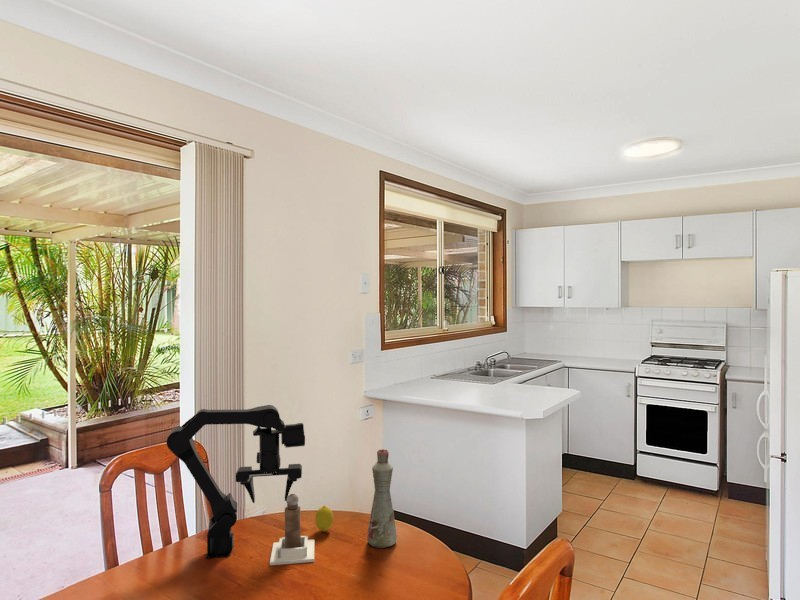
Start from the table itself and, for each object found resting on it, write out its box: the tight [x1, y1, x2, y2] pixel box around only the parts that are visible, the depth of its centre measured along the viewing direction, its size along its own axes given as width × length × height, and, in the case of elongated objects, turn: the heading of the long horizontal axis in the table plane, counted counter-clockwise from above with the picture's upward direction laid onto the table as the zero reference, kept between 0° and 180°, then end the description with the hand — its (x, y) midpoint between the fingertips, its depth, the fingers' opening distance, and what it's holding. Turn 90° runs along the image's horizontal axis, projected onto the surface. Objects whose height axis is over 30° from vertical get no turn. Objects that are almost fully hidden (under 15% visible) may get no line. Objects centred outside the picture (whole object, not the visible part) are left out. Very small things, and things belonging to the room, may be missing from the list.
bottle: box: [366, 449, 398, 549], centre depth 155 cm, size 9×9×28 cm
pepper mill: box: [284, 493, 302, 548], centre depth 149 cm, size 4×4×16 cm
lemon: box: [314, 505, 334, 532], centre depth 164 cm, size 6×6×8 cm
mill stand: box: [269, 535, 315, 566], centre depth 149 cm, size 12×12×3 cm
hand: (269, 501), depth 154 cm, fingers open, 9 cm apart
